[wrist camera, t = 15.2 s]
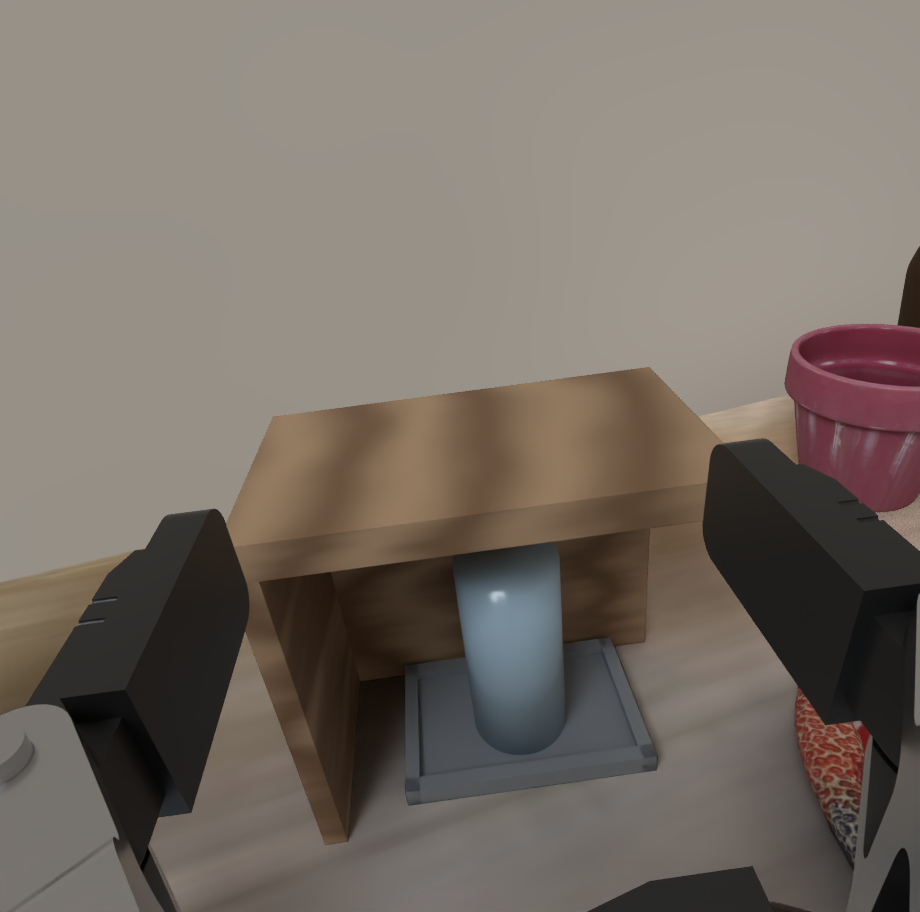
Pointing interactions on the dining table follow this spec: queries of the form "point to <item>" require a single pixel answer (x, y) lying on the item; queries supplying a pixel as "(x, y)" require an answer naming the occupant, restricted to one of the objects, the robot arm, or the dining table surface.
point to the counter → (446, 534)
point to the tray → (491, 771)
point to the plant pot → (860, 409)
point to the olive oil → (911, 295)
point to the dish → (833, 769)
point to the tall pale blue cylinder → (513, 644)
